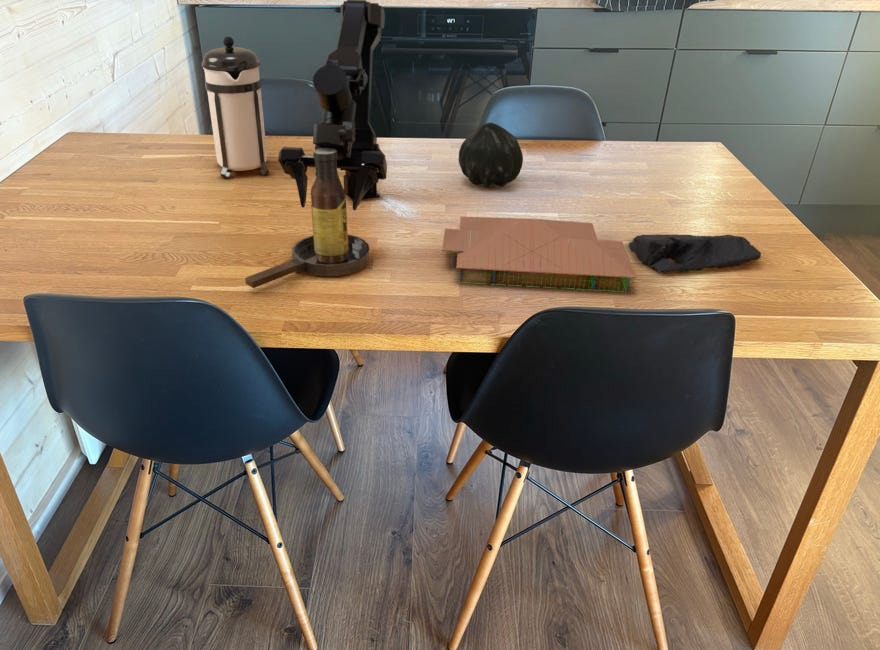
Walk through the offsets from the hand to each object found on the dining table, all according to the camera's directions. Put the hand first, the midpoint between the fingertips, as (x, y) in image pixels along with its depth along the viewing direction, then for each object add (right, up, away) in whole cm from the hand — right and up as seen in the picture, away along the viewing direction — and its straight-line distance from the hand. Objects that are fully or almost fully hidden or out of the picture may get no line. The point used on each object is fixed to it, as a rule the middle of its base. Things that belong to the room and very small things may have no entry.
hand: (328, 207), depth 123 cm
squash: (+34, +15, +43) cm, 56 cm away
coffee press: (-26, +20, +49) cm, 59 cm away
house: (+37, -8, +7) cm, 39 cm away
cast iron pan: (0, -8, +6) cm, 10 cm away
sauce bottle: (0, -8, +6) cm, 10 cm away
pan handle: (-9, -13, -2) cm, 16 cm away
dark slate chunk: (+68, -7, +9) cm, 69 cm away
